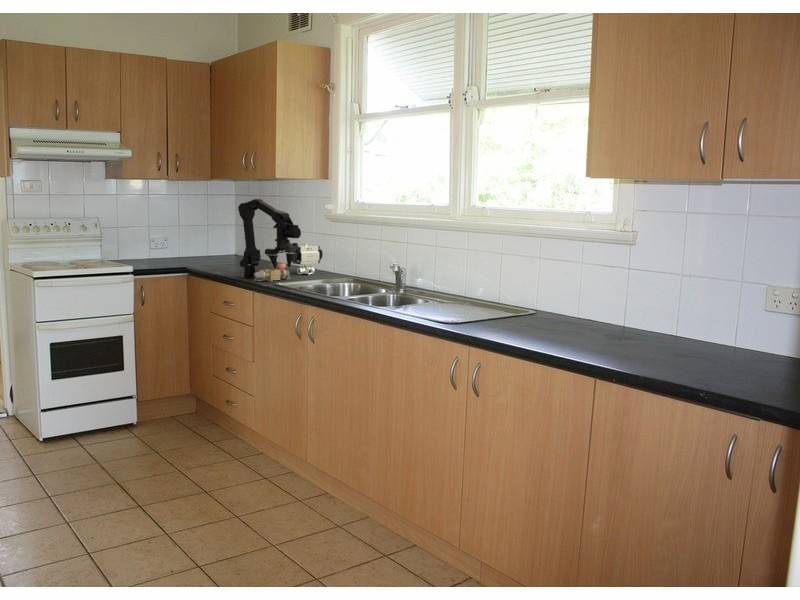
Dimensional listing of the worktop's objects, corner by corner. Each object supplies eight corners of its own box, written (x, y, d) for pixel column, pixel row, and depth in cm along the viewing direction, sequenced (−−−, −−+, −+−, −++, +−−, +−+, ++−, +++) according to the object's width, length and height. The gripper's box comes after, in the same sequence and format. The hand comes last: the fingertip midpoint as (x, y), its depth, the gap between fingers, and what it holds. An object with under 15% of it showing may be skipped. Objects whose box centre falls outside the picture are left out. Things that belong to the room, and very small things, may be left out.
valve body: (259, 282, 368) (259, 270, 368) (252, 281, 373) (252, 269, 372) (291, 279, 383) (291, 268, 382) (284, 278, 387) (284, 267, 386)
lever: (267, 269, 376) (267, 262, 376) (274, 268, 379) (274, 261, 379) (280, 271, 368) (280, 264, 368) (287, 271, 371) (287, 263, 371)
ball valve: (297, 276, 395) (297, 244, 392) (288, 275, 401) (288, 243, 398) (324, 274, 406) (324, 243, 404) (315, 273, 413) (315, 242, 410)
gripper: (278, 239, 357) (278, 270, 359) (306, 237, 371) (306, 267, 374) (264, 237, 364) (264, 268, 366) (291, 236, 378) (291, 265, 381)
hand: (282, 267), depth 372 cm, fingers open, 9 cm apart
